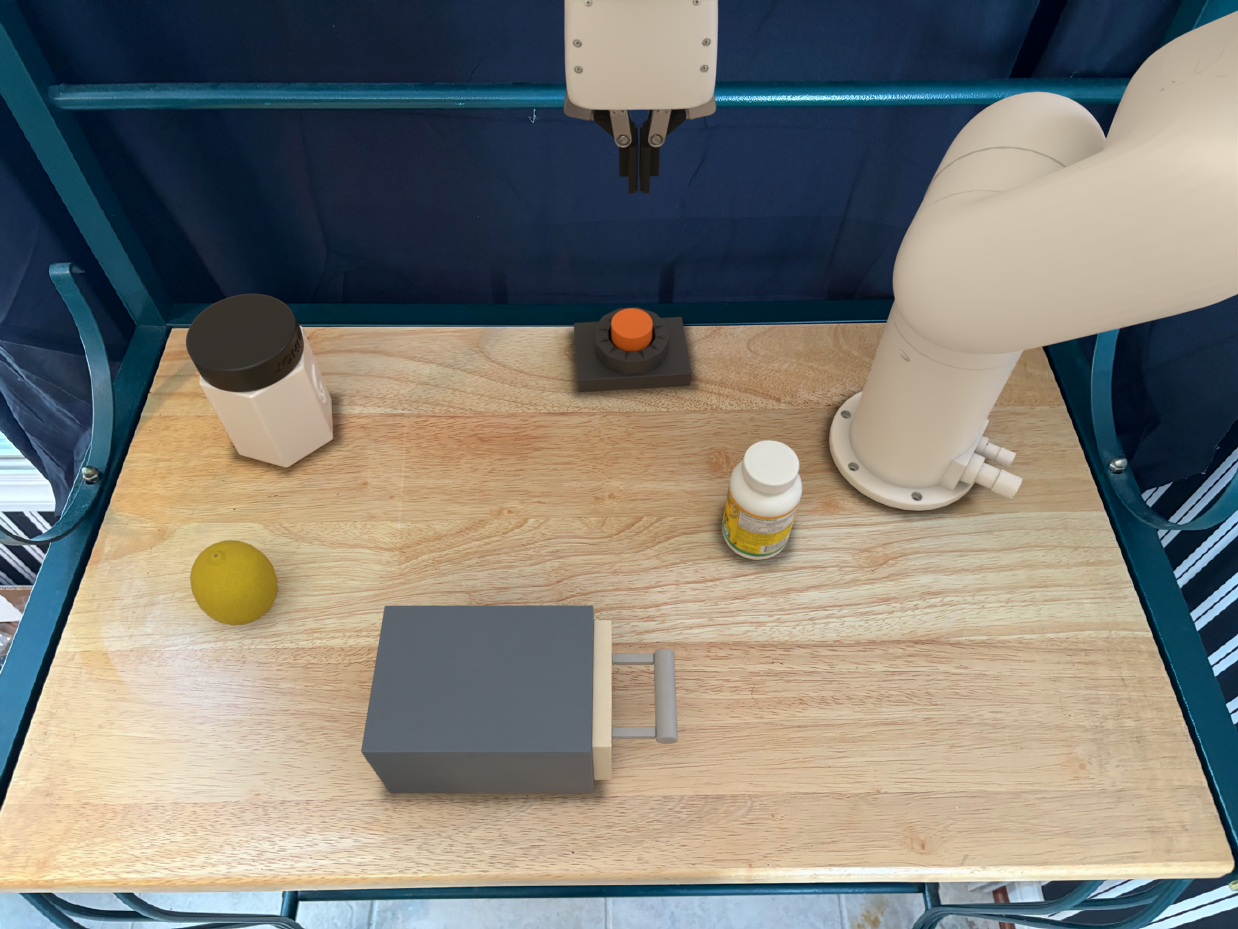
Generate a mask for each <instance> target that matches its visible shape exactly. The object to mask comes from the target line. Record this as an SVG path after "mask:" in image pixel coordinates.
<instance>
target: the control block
mask: <svg viewBox="0 0 1238 929" xmlns="http://www.w3.org/2000/svg"><path fill="white" fill-rule="evenodd" d="M629 308H630V307H620V308H616V309H615V310H613V311H611V312H609V313H607V314H604V315H603V316H601V318H600V319H599V320H598V321H587V322H574V323H573V334H574V335H573V336H574V337H573V338H574V350H575V362H576V363H575V364H576V377H577V389H578V390H577V391H578V393H592V392H593V393H594V392H595V393H596V392H612V391H625V390H627V391H628V390H629V391H630V390H643V389H645V390H646V389H660V388H675V387H677V388H679V387H690V386H691V382H692V369H691V363H690V357H689V351H688V345H687V340H686V334H685V328H684V327H685V326H684V322H683V317H682V316H673V317H660V316H659V315H658V314H657V313H655V312H653V311H650V310H647V309H644V308H641V307H637V306H636V307H634V308H635V309H640V310H642V311H644V312H646V313H647V314H648V315H649V316H650V317H651V319H652V323H653V326H652V340H651V342H650V344H649V345H648V346H647V347H646V348H644V349H642V350H639V351H625V350H622V349H620V348H618V347H617V346H615V344H614V343H613V341H612V338H611V321H612V318H613V317H614V315H615V314H616V313H618V312H619V311H621V310H624V309H629Z"/></svg>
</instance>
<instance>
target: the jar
mask: <svg viewBox="0 0 1238 929" xmlns="http://www.w3.org/2000/svg"><path fill="white" fill-rule="evenodd" d="M185 346H186V351H187V354H188V356H189V358H190V359H191V361H192V363H193V364H194V366H195V368H196V370H197V372H198V373H199V379H198V385H199V387H200V388H201V390H202V392H203V393H204V395H205V397H206V399H207V401H208V402H209V404H210V407H211V408H212V409H213V411H214V413H215V415H216V416H217V419H218V420H219V421H220V423H221V425H222V428H224V431H225V432H226V434H227V436H228V437H229V439H230V441H231V443H232V444H233V446H234V448H235V450H236V451H237V453H238V455H240V456H242V457H245V458H249V459H252V460H257V461H260V462H263V463H268V464H271V465H275V466H278V467H281V468H286V469H287V468H289V467H291V466H293V465H294V464H296V463H297V462H299V461H301V460H303V459H304V458H306V457H307V456H309V455H310V454H312V453H313V452H315V451H317V450H319V449H320V448H321V447H323V446H325V445H327V444H328V443H330V442H331V441H332V440H334V426H333V425H334V424H333V423H334V422H333V404H332V402H333V401H332V397H331V395H330V393H329V390H328V388H327V385H326V383H325V380H324V377H323V375H322V372H321V370H320V368H319V365H318V362H317V360H316V357H315V354H314V351H313V349H312V347H311V344H310V342H309V340H308V337H307V334H306V332H305V329H304V327H303V326H302V325H300V324H299V322H298V319H297V317H296V316H295V314H294V312H293V311H292V309H291V308H290V307H289V306H288V305H287V304H286V303H285V302H284V301H282V300H280V299H278V298H276V297H274V296H272V295H267V294H262V293H244V294H237V295H233V296H229V297H226V298H224V299H221V300H219V301H216V302H214V303H212V304H211V305H209V306H208V307H206V308H205V309H204V310H202V311H201V312H200V313H199V314H197V316H196V317H195V318H194V320H193V321H192V323H191V324H190V325H189V328H188V330H187V333H186V337H185Z"/></svg>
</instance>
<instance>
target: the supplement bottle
mask: <svg viewBox="0 0 1238 929" xmlns="http://www.w3.org/2000/svg"><path fill="white" fill-rule="evenodd" d="M746 449H747V450H746V451H745V452H744V455H743V458H742V460H741V461H739V463H738V464H737V465H735V467H734V468H733V470H732V472H731V474H730V478H729V483H728V488H727V494H726V499H725V505H724V510H723V514H722V515H723V516H722V522H721V532H722V536H723V538H724V540H725V542H726V544H727V546H728V547H729V548H730V549H731V551H733V552H734V553H735V554H736V555H738V556H741V557H743V558H745V559H748V560H754V561H755V560H756V561H761V560H767V559H770V558H773V557H775V556H776V555H779V554H780V553H781V552H782V551H783V549H784V548H785V547H786V545H787V543H788V540H789V538H790V534H791V530H792V527H793V524H794V520H795V517H796V514H797V510H798V507H799V504H800V501H801V498H802V494H803V483H802V479H801V476H800V474H799V471H800V460H799V457H798V455H797V454H796V452H795V451H794V450H793V449H792V448H791V447H790V446H788V445H787V444H785V443H783V442H781V441H777V440H773V439H771V440H770V439H768V440H767V439H766V440H760V441H756V442H755V443H753V444H751V445H750V446H749V447H748V448H746Z"/></svg>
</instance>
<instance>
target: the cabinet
mask: <svg viewBox="0 0 1238 929" xmlns="http://www.w3.org/2000/svg"><path fill="white" fill-rule="evenodd" d="M594 613H595V612H594V605H384V609H383V612H382V620H381V627H380V632H379V637H378V638H379V639H378V644H377V651H376V656H375V662H374V669H373V674H372V682H371V687H370V694H369V699H368V700H369V701H368V707H367V712H366V719H365V725H364V732H363V736H362V737H363V738H362V743H361V749H360V752H361V754H362V755H363V757H364V759H365V761H367V763H368V764H369V766H370V767H371V769H372V770H373V771H374V773H375V774H376V775H377V777H378V778H379V780H380V781H381V783H382V784H383V785H384V787H385V788H386V790H387V792H388V793H389V794H594V793H595V780H594V777H593V761H592V685H593V621H594V620H595V616H594V615H595V614H594Z"/></svg>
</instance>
